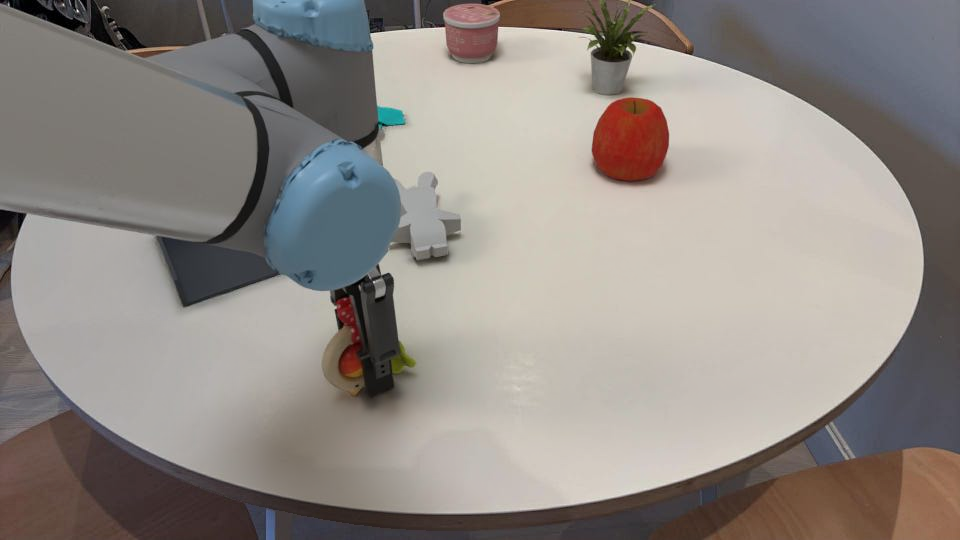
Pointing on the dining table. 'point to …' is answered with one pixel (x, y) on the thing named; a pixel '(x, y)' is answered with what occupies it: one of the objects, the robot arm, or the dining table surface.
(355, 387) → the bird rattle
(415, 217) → the bunny figurine
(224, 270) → the scoop
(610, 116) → the apple
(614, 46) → the house plant
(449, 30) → the container
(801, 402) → the dining table surface
